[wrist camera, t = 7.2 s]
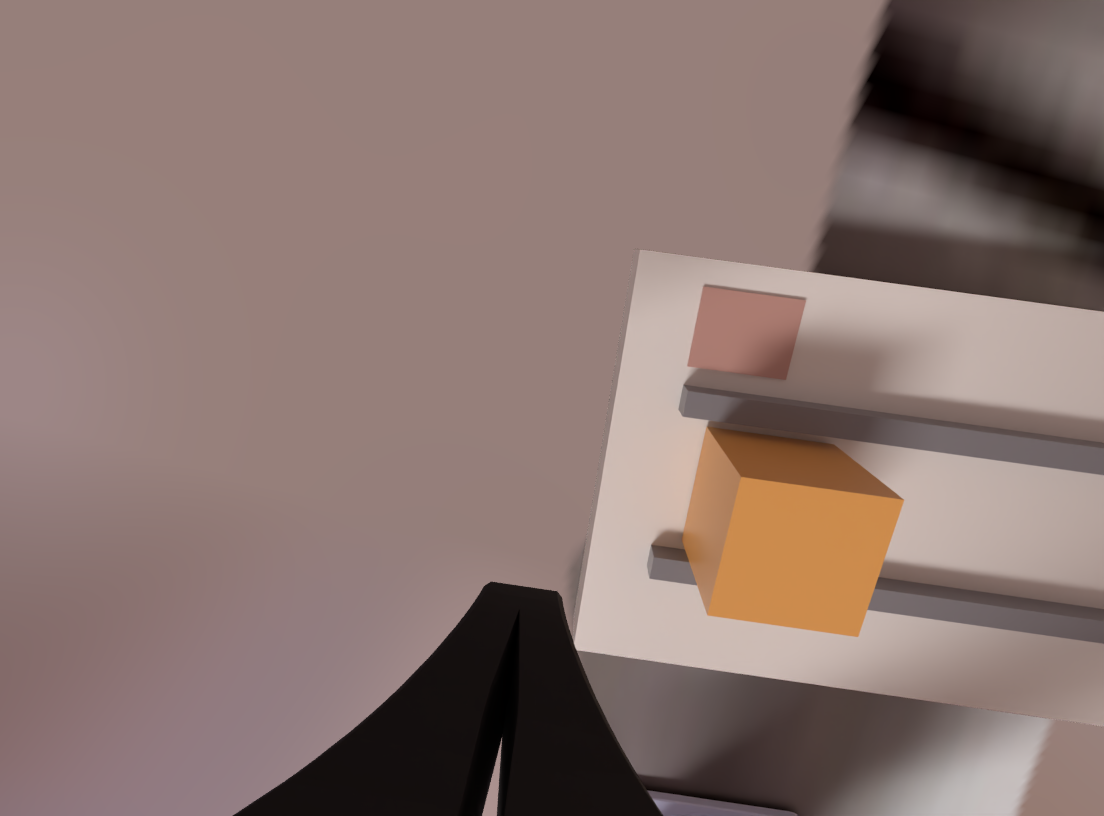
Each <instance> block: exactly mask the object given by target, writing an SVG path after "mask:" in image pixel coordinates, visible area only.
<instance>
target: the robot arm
mask: <svg viewBox="0 0 1104 816" xmlns="http://www.w3.org/2000/svg"><path fill="white" fill-rule="evenodd" d="M501 738H502V747H501V763H500V778H499V793H498V807H497V816H798V815H797V814H796V813H794V812H790V811H784V810H777V809H770V808H764V807H757V806H750V805H743V804H737V803H730V802H723V801H716V800H710V799H703V798H696V797H689V796H683V795H676V794H669V793H662V792H656V791H649V790H646V788H645V786H644V785H643V783H642V782H641V780H640V779H639V777H638V775H637V774H636V772H635V770H634V768H633V767H632V765H631V763H630V762H629V760H628V758H627V757H626V755H625V753H624V751H623V750H622V748H621V746H620V744H619V742H618V741H617V739H616V737H615V735H614V733H613V731H612V729H611V727H610V725H609V723H608V721H607V719H606V717H605V715H604V713H603V711H602V709H601V707H600V705H599V703H598V701H597V699H596V697H595V694H594V692H593V690H592V688H591V685H590V683H589V681H588V678H587V676H586V673H585V671H584V668H583V666H582V663H581V661H580V658H579V656H578V653H577V651H576V648H575V645H574V642H573V639H572V636H571V633H570V630H569V627H568V623H567V620H566V616H565V612H564V607H563V601H562V597H561V596H560V594H559V593H558V592H557V591H551V590H544V589H537V588H531V587H523V586H517V585H510V584H503V583H497V582H490V583H488V584H487V585H485V586H484V587H483V589H482V591H481V593H480V594H479V596H478V597H477V599H476V600H475V602H474V603H473V604H472V606H471V607H470V609H469V610H468V611H467V613H466V614H465V616H464V617H463V618H462V619H461V621H460V622H459V623H458V625H457V626H456V627H455V628H454V629H453V630H452V632H451V633H450V634H449V635H448V636H447V638H446V639H445V640H444V641H443V642H442V643H441V645H440V646H439V647H438V648H437V649H436V650H435V651H434V653H433V654H432V655H431V656H430V657H429V658H428V659H427V660H426V661H425V662H424V663H423V664H422V665H421V666H420V667H419V668H418V669H417V670H416V671H415V672H414V674H412V676H411V677H410V678H409V679H408V680H407V681H406V682H405V683H404V684H403V685H402V686H401V687H400V688H399V689H398V690H397V691H396V692H395V693H393V694H392V695H391V696H390V697H389V698H388V699H387V700H386V701H385V702H384V703H383V704H382V705H381V706H379V707H378V708H377V709H376V710H375V711H374V712H373V713H372V714H370V715H369V716H368V717H367V718H366V719H365V720H364V721H362V722H361V723H360V724H359V725H358V726H357V727H355V728H354V729H353V730H352V731H351V732H349V733H348V734H347V735H346V736H344V737H343V738H342V739H340V740H339V741H338V742H337V743H335V744H334V745H333V746H331V747H330V748H329V749H328V750H326V751H325V752H324V753H322V754H321V755H320V756H319V757H318V758H316V759H315V760H314V761H312V762H311V763H309V764H308V765H307V766H305V767H304V768H303V769H301V770H300V771H299V772H297V773H296V774H295V775H293V776H292V777H290V778H289V779H287V780H286V781H285V782H283V783H282V784H280V785H279V786H277V787H276V788H274V789H272V790H271V791H269V792H268V793H266V794H265V795H263V796H262V797H260V798H259V799H257V800H256V801H254V802H253V803H251V804H250V805H248V806H247V807H245V808H244V809H242V810H241V811H239V812H238V813H236V814H235V815H233V816H482V813H483V809H484V805H485V801H486V797H487V794H488V789H489V786H490V782H491V778H492V774H493V770H494V766H495V762H496V758H497V754H498V750H499V746H500V742H501Z"/></svg>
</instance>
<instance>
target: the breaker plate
mask: <svg viewBox="0 0 1104 816" xmlns="http://www.w3.org/2000/svg"><path fill="white" fill-rule="evenodd" d="M706 427H714V428H721V429H728V430H735V431H742V432H749V433H757V434H764V435H771V436H778V437H785V438H793V439H800V440H807V441H814V442H821V443H829V444H834V445H835V446H837V447H838V448H839V449H841V450H842V451H843V452H844V453H846V454H847V455H848V456H849V457H851V458H852V459H853V460H854V461H856V462H857V463H858V464H860V465H861V466H862V467H863V468H865V469H866V470H867V471H868V472H870V473H871V474H872V475H873V476H875V477H876V478H877V479H879V480H880V481H881V482H882V483H884V484H885V485H886V486H887V487H889V488H890V489H891V490H892V491H894V492H895V493H896V494H898V495H899V496H900V497H901V498H903V499H904V503H903V506H902V508H901V511H900V514H899V517H898V520H897V523H896V526H895V529H894V532H893V535H892V538H891V541H890V544H889V547H888V550H887V553H886V556H885V559H884V562H883V565H882V568H881V571H880V574H879V577H878V580H877V583H876V586H875V589H874V592H873V595H872V597H871V600H870V603H869V606H868V609H867V612H866V615H865V618H864V621H863V624H862V627H861V630H860V633H859V636H858V637H854V636H847V635H840V634H833V633H826V632H819V631H812V630H805V629H798V628H791V627H784V626H777V625H770V624H763V623H756V622H749V621H742V620H735V619H728V618H721V617H714V616H708V615H707V613H706V610H705V607H704V604H703V601H702V598H701V595H700V592H699V589H698V586H697V583H696V581H695V578H694V575H693V572H692V569H691V566H690V563H689V560H688V557H687V554H686V551H685V548H684V545H683V542H682V536H683V531H684V527H685V522H686V518H687V513H688V508H689V504H690V499H691V495H692V490H693V486H694V481H695V476H696V472H697V467H698V463H699V458H700V454H701V449H702V444H703V440H704V435H705V431H706ZM573 642H574V645H575V648H576V650H580V651H587V652H594V653H601V654H608V655H615V656H622V657H629V658H636V659H642V660H649V661H656V662H663V663H670V664H677V665H684V666H691V667H698V668H704V669H711V670H718V671H725V672H732V673H739V674H746V675H753V676H760V677H766V678H773V679H780V680H787V681H794V682H801V683H808V684H815V685H822V686H828V687H835V688H842V689H849V690H856V691H863V692H870V693H877V694H884V695H890V696H897V697H904V698H911V699H918V700H925V701H932V702H939V703H946V704H952V705H959V706H966V707H973V708H980V709H987V710H994V711H1001V712H1008V713H1014V714H1021V715H1028V716H1035V717H1042V718H1049V719H1056V720H1063V721H1070V722H1076V723H1083V724H1090V725H1098V726H1104V312H1102V311H1094V310H1087V309H1079V308H1072V307H1064V306H1057V305H1050V304H1042V303H1035V302H1027V301H1020V300H1013V299H1005V298H998V297H990V296H983V295H976V294H968V293H961V292H953V291H946V290H939V289H931V288H924V287H916V286H909V285H902V284H894V283H887V282H879V281H872V280H864V279H857V278H850V277H842V276H835V275H827V274H820V273H813V272H805V271H798V270H790V269H783V268H776V267H768V266H761V265H753V264H745V263H739V262H731V261H724V260H716V259H708V258H701V257H694V256H687V255H679V254H672V253H664V252H657V251H649V250H642V249H634V253H633V259H632V265H631V271H630V278H629V283H628V289H627V296H626V302H625V307H624V313H623V320H622V326H621V332H620V338H619V344H618V350H617V356H616V362H615V368H614V375H613V380H612V387H611V393H610V399H609V405H608V411H607V417H606V423H605V430H604V435H603V441H602V447H601V453H600V459H599V466H598V472H597V478H596V484H595V490H594V496H593V502H592V508H591V514H590V520H589V526H588V532H587V538H586V544H585V550H584V556H583V563H582V569H581V575H580V581H579V587H578V593H577V599H576V605H575V611H574V634H573Z"/></svg>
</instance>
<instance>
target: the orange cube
mask: <svg viewBox="0 0 1104 816" xmlns="http://www.w3.org/2000/svg"><path fill="white" fill-rule="evenodd" d="M903 503H904V499H903V498H901V497H900V496H899V495H898V494H896V493H895V492H894V491H892V490H891V489H890V488H889V487H887V486H886V485H885V484H884V483H882V482H881V481H880V480H879V479H877V478H876V477H875V476H873V475H872V474H871V473H870V472H868V471H867V470H866V469H865V468H863V467H862V466H861V465H860V464H858V463H857V462H856V461H854V460H853V459H852V458H851V457H849V456H848V455H847V454H846V453H844V452H843V451H842V450H841V449H839V448H838V447H837V446H835V445H834V444H829V443H821V442H814V441H807V440H800V439H793V438H785V437H778V436H771V435H764V434H757V433H749V432H742V431H735V430H728V429H721V428H714V427H706V431H705V435H704V440H703V444H702V449H701V454H700V458H699V463H698V467H697V472H696V476H695V481H694V486H693V490H692V495H691V499H690V504H689V508H688V513H687V518H686V522H685V527H684V531H683V536H682V542H683V545H684V548H685V551H686V554H687V557H688V560H689V563H690V566H691V569H692V572H693V575H694V578H695V581H696V583H697V586H698V589H699V592H700V595H701V598H702V601H703V604H704V607H705V610H706V613H707V615H708V616H714V617H721V618H728V619H735V620H742V621H749V622H756V623H763V624H770V625H777V626H784V627H791V628H798V629H805V630H812V631H819V632H826V633H833V634H840V635H847V636H854V637H858V636H859V633H860V630H861V627H862V624H863V621H864V618H865V615H866V612H867V609H868V606H869V603H870V600H871V597H872V595H873V592H874V589H875V586H876V583H877V580H878V577H879V574H880V571H881V568H882V565H883V562H884V559H885V556H886V553H887V550H888V547H889V544H890V541H891V538H892V535H893V532H894V529H895V526H896V523H897V520H898V517H899V514H900V511H901V508H902V506H903Z"/></svg>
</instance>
